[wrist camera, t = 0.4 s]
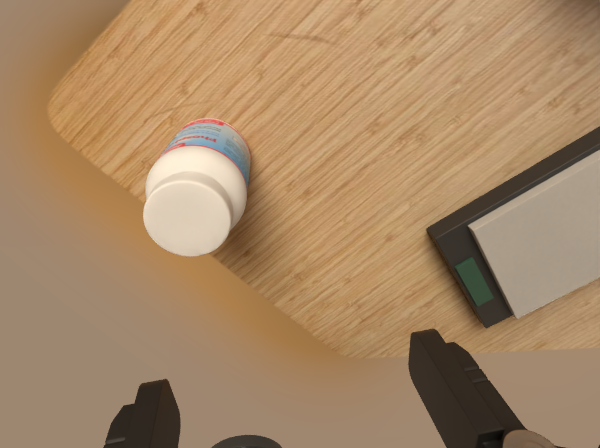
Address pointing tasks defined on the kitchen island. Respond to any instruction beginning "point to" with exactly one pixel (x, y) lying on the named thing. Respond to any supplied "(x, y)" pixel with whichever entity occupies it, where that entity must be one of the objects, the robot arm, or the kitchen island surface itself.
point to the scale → (528, 235)
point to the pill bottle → (198, 188)
